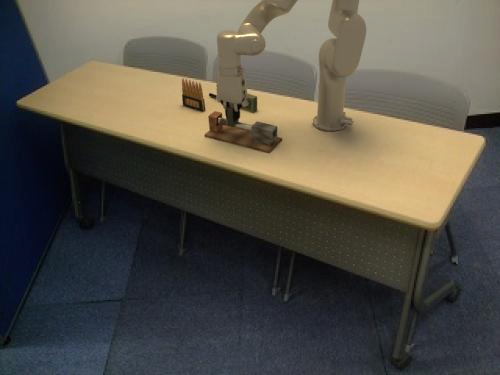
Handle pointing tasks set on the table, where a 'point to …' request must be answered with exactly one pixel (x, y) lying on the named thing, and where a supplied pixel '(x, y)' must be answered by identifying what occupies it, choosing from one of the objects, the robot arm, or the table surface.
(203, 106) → the ammunition clip
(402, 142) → the table surface
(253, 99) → the handheld radio
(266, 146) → the tube stand
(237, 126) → the tube
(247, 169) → the table surface
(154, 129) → the table surface
